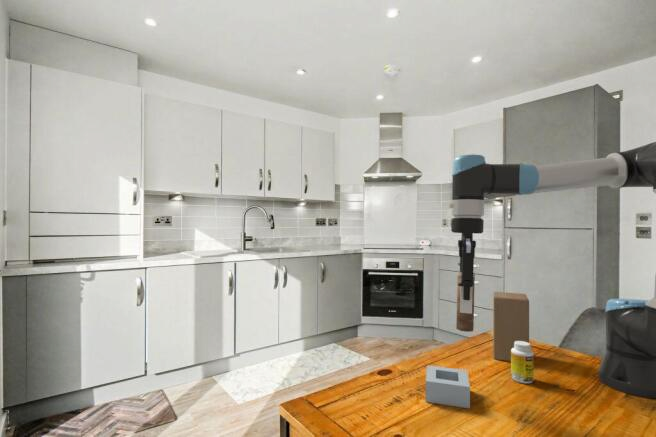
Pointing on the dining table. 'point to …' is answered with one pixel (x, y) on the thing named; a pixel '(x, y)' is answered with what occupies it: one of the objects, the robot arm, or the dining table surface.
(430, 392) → the socket block
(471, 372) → the dining table surface
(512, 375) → the supplement bottle
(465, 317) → the peg
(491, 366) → the dining table surface
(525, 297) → the wooden block
